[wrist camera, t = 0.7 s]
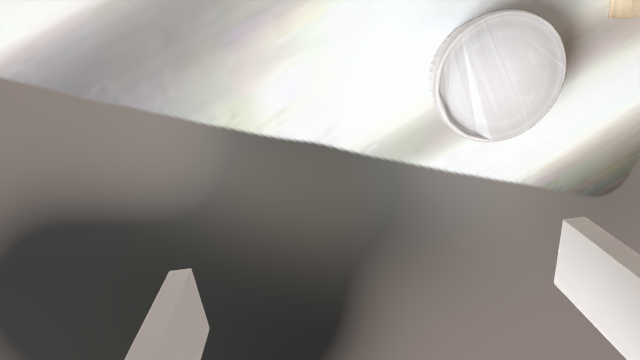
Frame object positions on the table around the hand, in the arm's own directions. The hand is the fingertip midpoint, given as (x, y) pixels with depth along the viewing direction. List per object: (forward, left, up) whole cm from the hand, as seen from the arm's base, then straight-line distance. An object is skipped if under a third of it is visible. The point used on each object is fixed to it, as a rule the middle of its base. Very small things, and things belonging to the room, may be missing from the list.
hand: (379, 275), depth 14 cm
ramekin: (-1, +15, -27) cm, 31 cm away
